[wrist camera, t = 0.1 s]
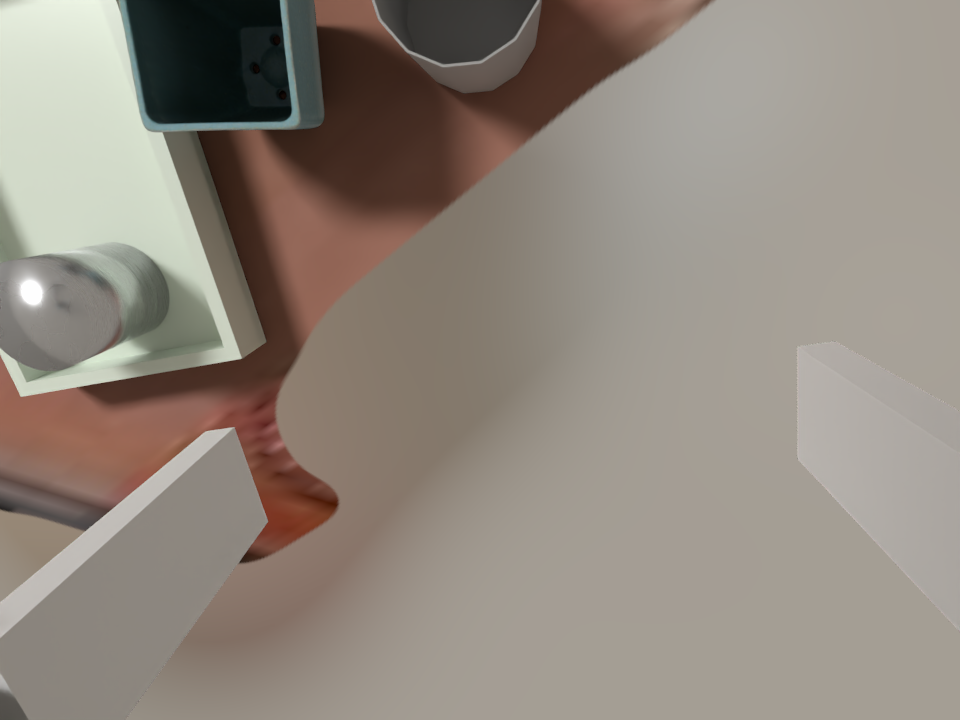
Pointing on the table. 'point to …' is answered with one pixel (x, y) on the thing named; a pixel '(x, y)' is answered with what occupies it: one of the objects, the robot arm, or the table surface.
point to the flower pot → (224, 64)
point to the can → (78, 303)
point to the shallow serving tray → (111, 190)
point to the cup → (464, 38)
